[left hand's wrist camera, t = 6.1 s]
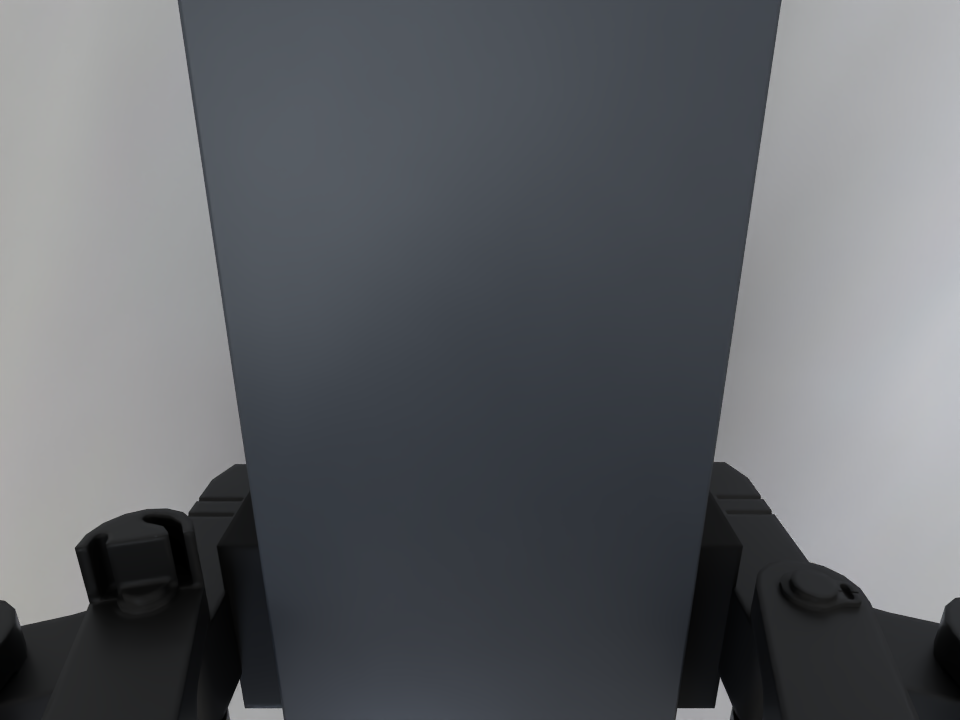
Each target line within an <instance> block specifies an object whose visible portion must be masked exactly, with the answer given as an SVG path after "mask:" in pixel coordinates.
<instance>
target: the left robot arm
mask: <svg viewBox="0 0 960 720" xmlns="http://www.w3.org/2000/svg"><path fill="white" fill-rule="evenodd" d="M75 551H76V554H77V558H78V562H79V565H80V569H81V573H82V576H83V580H84V584H85V588H86V591H87V595H88V599H89V602H90V604H89V607H88V609H87V611H84V612H81V613H77V614H74V615H70V616H65V617H61V618H56V619H52V620H47V621H42V622H38V623H33V624H29V625H24V626H20V623H19V620H18V617H17V614H16V611H15V609H14V608H13V607H12V606H11V605H9V604H8V603H7V602H6V601H2V600H0V720H230V717H229V711H228V706H229V703H230V701H231V699H232V696H233V694H234V692H235V689H236V687H237V684H238V682H239V680H240V683H241V688H242V694H243V700H244V705H245V708H282V702H281V695H280V689H279V682H278V675H277V668H276V661H275V655H274V648H273V641H272V634H271V628H270V621H269V614H268V607H267V601H266V594H265V587H264V580H263V573H262V567H261V560H260V553H259V546H258V540H257V533H256V526H255V519H254V513H253V506H252V499H251V492H250V485H249V479H248V472H247V465H246V464H235V465H233V466H232V467H230V468H229V469H227V470H226V471H225V472H223V473H222V474H220V475H219V476H217V477H216V478H214V479H213V480H212V481H211V482H210V484H209V485H208V486H207V488H206V489H205V491H204V492H203V493H202V495H201V496H200V498H199V501H197V502H196V503H195V504H194V506H193V507H192V509H191V510H190V511H189V515H188V516H187V515H186V514H184V513H183V512H180V511H175V510H171V509H146V510H141V511H137V512H132V513H128V514H124V515H122V516H119V517H117V518H114V519H112V520H110V521H107V522H105V523H103V524H101V525H100V526H98V527H97V528H95V529H94V530H92V531H91V532H89V533H88V534H86V535H85V536H84V538H83V539H82V540H81V541H80V542H79V544H78V545H77V546H76V547H75ZM720 677H721V680H722V682H723V685H724V687H725V689H726V692H727V694H728V696H729V699H730V701H731V703H732V711H731V717H730V720H960V597H959V598H955V599H954V600H952V601H951V602H950V603H949V604H947V605H946V606H945V609H944V612H943V615H942V618H941V621H940V623H935V622H930V621H926V620H921V619H917V618H912V617H907V616H903V615H898V614H894V613H889V612H885V611H882V610H878V609H875V608H872V605H871V603H870V602H869V600H868V599H867V597H866V596H865V594H864V593H863V592H862V590H861V589H860V588H859V587H858V586H856V585H855V584H854V583H853V582H851V581H850V580H849V579H847V578H846V577H845V576H843V575H841V574H839V573H837V572H835V571H833V570H831V569H829V568H826V567H824V566H821V565H817V564H814V563H810V562H808V560H807V559H806V557H805V556H804V555H803V553H802V552H801V550H800V549H799V548H798V546H797V545H796V544H795V542H794V541H793V539H792V538H791V537H790V535H789V534H788V533H787V531H786V530H785V528H784V527H783V526H782V524H781V523H780V522H779V520H778V519H777V517H776V516H775V515H774V514H772V513H771V509H770V508H769V506H768V505H767V504H766V502H765V501H764V500H763V499H761V495H760V494H759V493H758V491H757V490H756V489H755V487H754V486H753V484H752V483H751V482H750V480H749V479H748V478H747V477H746V476H744V475H743V474H741V473H740V472H738V471H737V470H736V469H734V468H733V467H731V466H730V465H728V464H727V463H725V462H713V468H712V475H711V481H710V488H709V495H708V502H707V509H706V515H705V522H704V529H703V536H702V543H701V549H700V556H699V563H698V570H697V577H696V583H695V590H694V597H693V604H692V611H691V617H690V624H689V631H688V638H687V644H686V651H685V658H684V665H683V672H682V678H681V685H680V692H679V699H678V706H677V708H715V703H716V697H717V692H718V686H719V680H720Z"/></svg>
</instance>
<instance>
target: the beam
mask: <svg viewBox="0 0 960 720" xmlns="http://www.w3.org/2000/svg"><path fill="white" fill-rule="evenodd" d="M178 5H179V12H180V18H181V25H182V32H183V39H184V46H185V52H186V59H187V66H188V73H189V79H190V86H191V93H192V100H193V106H194V113H195V120H196V127H197V134H198V140H199V147H200V154H201V161H202V167H203V174H204V181H205V188H206V194H207V201H208V208H209V215H210V222H211V228H212V235H213V242H214V249H215V255H216V262H217V269H218V276H219V282H220V289H221V296H222V303H223V310H224V316H225V323H226V330H227V337H228V343H229V350H230V357H231V364H232V370H233V377H234V384H235V391H236V398H237V404H238V411H239V418H240V425H241V431H242V438H243V445H244V452H245V458H246V465H247V472H248V479H249V485H250V492H251V499H252V506H253V513H254V519H255V526H256V533H257V540H258V546H259V553H260V560H261V567H262V573H263V580H264V587H265V594H266V601H267V607H268V614H269V621H270V628H271V634H272V641H273V648H274V655H275V661H276V668H277V675H278V682H279V689H280V695H281V702H282V709H283V716H284V720H675V719H676V712H677V706H678V699H679V692H680V685H681V678H682V672H683V665H684V658H685V651H686V644H687V638H688V631H689V624H690V617H691V611H692V604H693V597H694V590H695V583H696V577H697V570H698V563H699V556H700V549H701V543H702V536H703V529H704V522H705V515H706V509H707V502H708V495H709V488H710V481H711V475H712V468H713V461H714V454H715V447H716V441H717V434H718V427H719V420H720V414H721V407H722V400H723V393H724V386H725V380H726V373H727V366H728V359H729V352H730V346H731V339H732V332H733V325H734V318H735V312H736V305H737V298H738V291H739V284H740V278H741V271H742V264H743V257H744V251H745V244H746V237H747V230H748V223H749V217H750V210H751V203H752V196H753V189H754V183H755V176H756V169H757V162H758V155H759V149H760V142H761V135H762V128H763V121H764V115H765V108H766V101H767V94H768V87H769V81H770V74H771V67H772V60H773V54H774V47H775V40H776V33H777V26H778V20H779V13H780V6H781V0H178Z"/></svg>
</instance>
